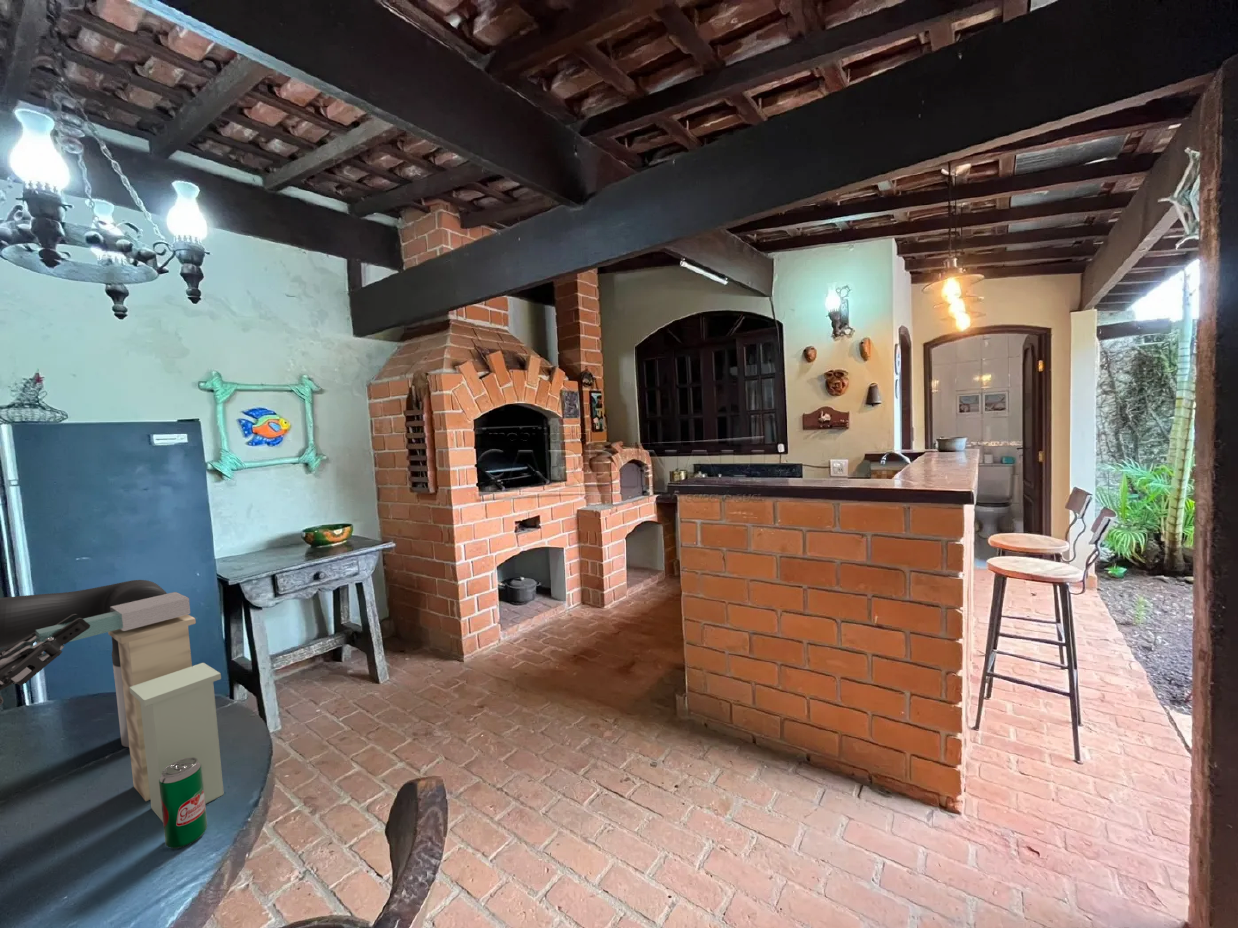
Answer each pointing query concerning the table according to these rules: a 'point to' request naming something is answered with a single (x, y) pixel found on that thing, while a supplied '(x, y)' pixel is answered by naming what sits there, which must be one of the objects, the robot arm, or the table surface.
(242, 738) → the table surface
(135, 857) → the table surface
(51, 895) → the table surface
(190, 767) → the soda can
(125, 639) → the high stand
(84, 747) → the table surface
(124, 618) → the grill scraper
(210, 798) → the low stand
